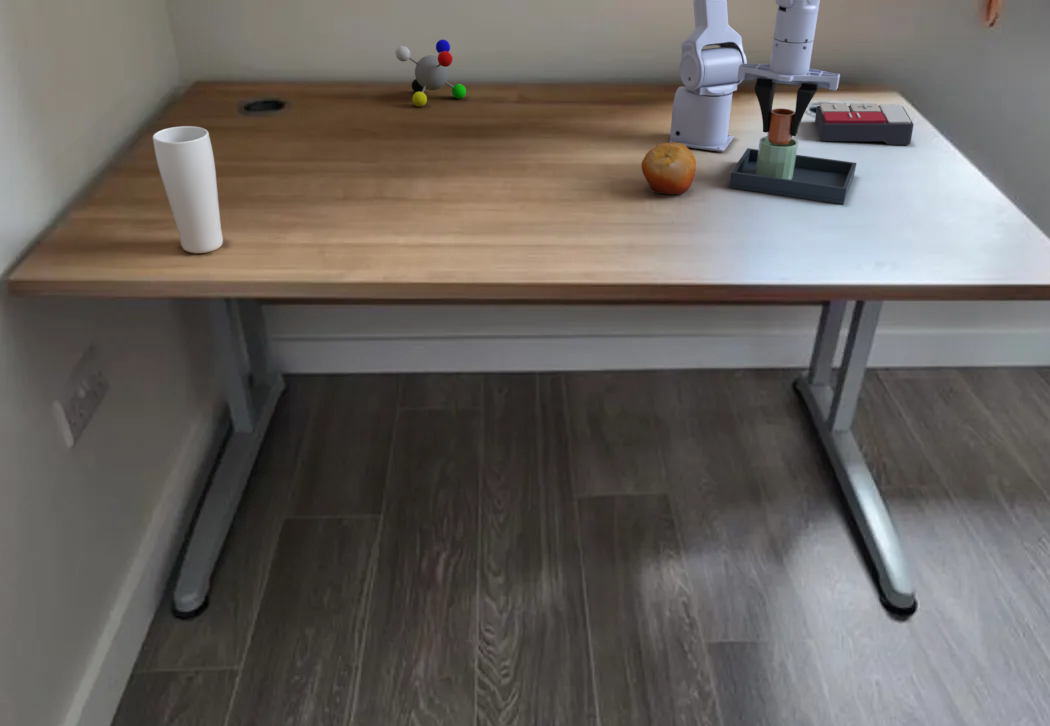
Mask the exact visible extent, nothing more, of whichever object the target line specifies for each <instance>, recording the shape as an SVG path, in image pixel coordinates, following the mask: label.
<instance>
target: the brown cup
mask: <svg viewBox="0 0 1050 726" xmlns="http://www.w3.org/2000/svg"><path fill="white" fill-rule="evenodd" d="M794 116H795V110H792V109H789V108H783V107H782V108H781V107H779V108H778V107H777V108H772V110H771V112H770V120H769V128H768V132H767V135H766V136H767V138H768V141H769V142H770V143H773V144H777V145H785V144H788V143H789V142H790V140H791V139H792V138H793V136H791V129H792V125H793V121H794Z"/></svg>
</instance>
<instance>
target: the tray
mask: <svg viewBox="0 0 1050 726" xmlns="http://www.w3.org/2000/svg"><path fill="white" fill-rule="evenodd" d="M757 157H758V149H756V148H748V147H747V148H746V150H745V151H744V152H743V154H742V155H741V157H740V158H739V160H738V161H737V163H736V164H735V166H734V168H733V169H732V170H731V172H730V175H729V186H728V188H729V189H737V190H743V191H750V192H755V193H764V194H770V195H776V196H784V197H791V198H797V199H803V200H811V201H818V202H823V203H830V204H837V205H844V204H845V202H846V199H847V196H848V194H849V191H850V188H851V186H852V183H853V180H854V178H855V173H856V167H857V165H858V164H857V162H854V161H853V162H852V161H846V160H839V159H838V160H837V159H832V158H831V159H830V158H824V157H815V156H808V155H802V154H801V155H800V154H797V155H796V161H795V167H794V174H793V178H792V179H791V180H789V179H781V178H774V177H767V176H760V175H755V174H756V164H757Z"/></svg>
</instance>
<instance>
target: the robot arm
mask: <svg viewBox="0 0 1050 726" xmlns="http://www.w3.org/2000/svg"><path fill="white" fill-rule="evenodd" d="M692 2H693V3H692V5H693V18H694V30H693V31H692V32H691V33H690V34H689V35H688V36H687V38H686V39H685V40H684V41H683V42H682V43H681V45H680V46H681V55H680V56H681V57H680V62H679V77H680V80H681V82H682V84H683V86H679V87H678V88H677V89H676V92H675V94H674V97H673V103H672V112H671V123H670V136H669V141H668V143H671V142H678V143H682V144H684V145H685V146H686V147H687V148H688V149H689V148H691V149H698V150H704V151H713V152H721V153H722V152H723V153H724V152H725V151H726V149H727V148H728V146H729V145H730V144H731V142H732V141H733V139H734V135H731V134H729V130H730V129H729V128H730V119H731V110H732V102H733V92H736V91H737V90H738V85H740V84H741V83H742V82H743V81H745V80H752V81H755V85H754V93H755V95H756V96H755V97H756V99H757V101H758V104H759V107H760V112H761V113H760V114H761V119H762V120H761V121H762V132H763V133H767V134H768V128H769V120H770V112H771V110H773V104H774V97H775V93H776V87H777V84H786V85H796V86H800V87H798V89H797V91H796V100H795V110H794V112H795V116H794V121H793V125H792V129H791V136H792V137H797V135H798V133H799V129H800V126H801V122H802V120H803V117H804V115H805V113H806V112H807V111H806V110H807V108H808V106H809V105H810V103H811V101H812V100H813V98H814V96H815V95H816V94H817V91H818V90H819V88H822V89H828V90H829V91H837V90H838V88H839V84H840V78H841V74H840V73H837V72H829V71H824V70H819V69H815V68H811V67H810V66H811V62H812V61H811V60H812V54H813V47H814V40H815V35H816V30H817V29H816V28H817V22H818V15H819V10H820V3H821V0H775V4H776V5H777V9H776V17H775V24H774V30H773V38H772V44H771V45H772V46H771V51H770V52H771V54H770V60H769V64H767V63H748V61H747V56H746V54H745V51H744V47H743V38H742V35H741V34H739V33H738V32H737V31H736V30H735V29H733V27H731V26H730V25H729V15H728V13H729V12H728V0H693V1H692ZM709 46H711V48H704V47H709ZM712 46H718V47H712Z"/></svg>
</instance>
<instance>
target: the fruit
mask: <svg viewBox="0 0 1050 726" xmlns="http://www.w3.org/2000/svg"><path fill="white" fill-rule="evenodd" d="M696 167H697V163H696V158H695V155H694V153H693V152H692V151H691V150H690V149H689V147H686V146H685V145H684V144H682V143H678V142H671V143H669V142H662V143H658V144H657V145H655V146H654V147H652V148H650V149H649V150H648V152H646V154H645V156H644V157H643V159H642V161H641V164H640V168H641V171H642V174H643V176H644V179H645V180H646V183H647V184H648V186H649V188H650V190H651V191H652V192H654V193H657V194H663V195H682V194H685V193H687V192H688V191H689V190H690V187H691V186H692V184H693V181H694V178H695V176H696V169H697V168H696Z"/></svg>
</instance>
